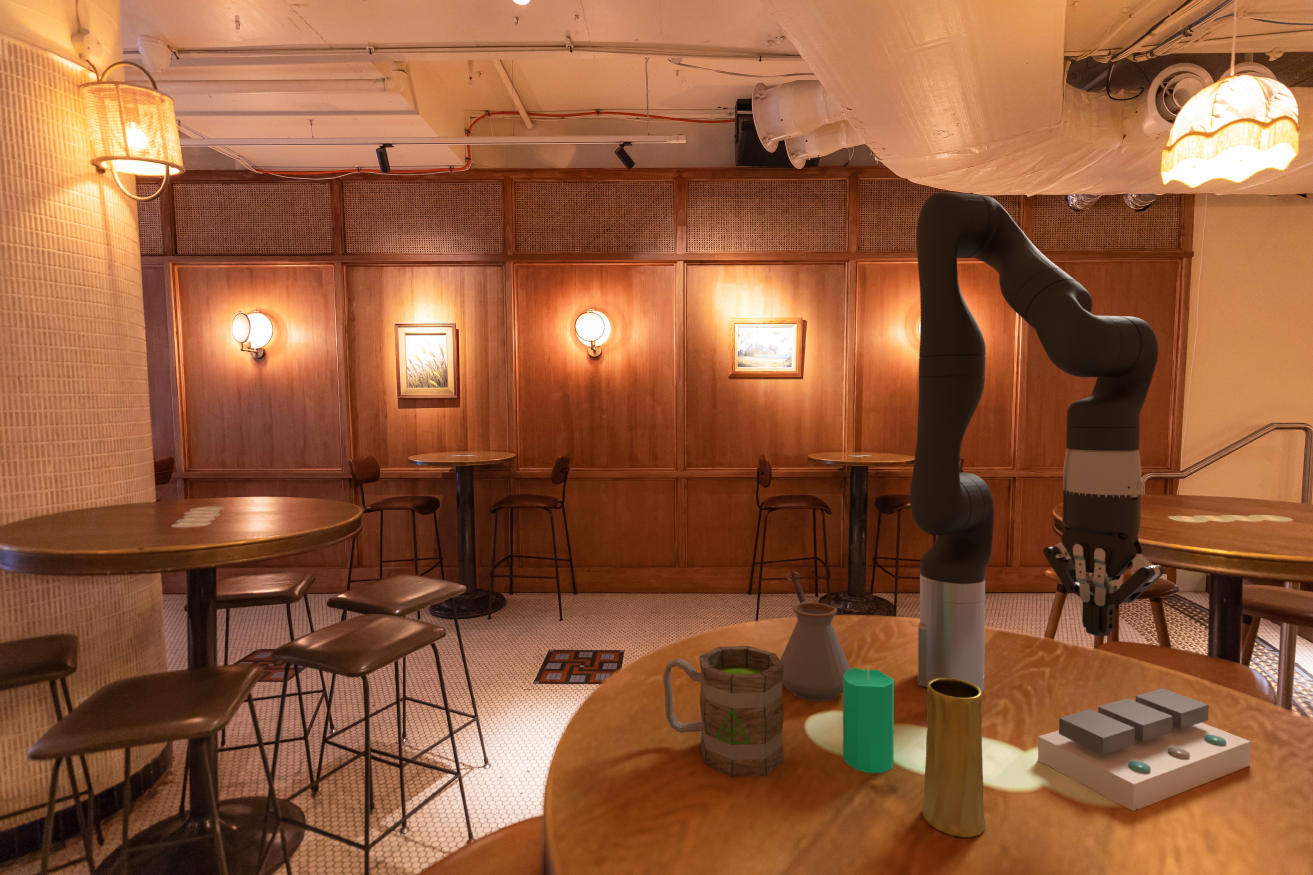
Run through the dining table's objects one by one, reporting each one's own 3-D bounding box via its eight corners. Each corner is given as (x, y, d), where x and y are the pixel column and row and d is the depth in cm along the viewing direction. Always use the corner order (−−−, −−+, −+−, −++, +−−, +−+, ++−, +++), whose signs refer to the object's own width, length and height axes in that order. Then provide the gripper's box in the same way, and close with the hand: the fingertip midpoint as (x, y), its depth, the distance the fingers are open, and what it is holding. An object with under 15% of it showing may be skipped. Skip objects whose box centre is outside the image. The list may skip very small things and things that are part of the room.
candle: (897, 775, 76) (898, 676, 76) (845, 770, 77) (845, 672, 77) (889, 749, 82) (890, 657, 82) (841, 744, 83) (841, 654, 83)
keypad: (1133, 811, 69) (1133, 781, 69) (1038, 759, 79) (1038, 733, 79) (1249, 765, 78) (1250, 738, 77) (1150, 724, 88) (1150, 700, 88)
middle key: (1142, 741, 76) (1143, 725, 76) (1097, 722, 80) (1098, 706, 80) (1172, 732, 78) (1172, 715, 78) (1126, 713, 83) (1127, 698, 82)
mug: (789, 739, 85) (789, 650, 84) (777, 785, 75) (777, 683, 74) (676, 721, 90) (675, 637, 89) (650, 762, 80) (649, 667, 79)
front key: (1102, 755, 73) (1103, 737, 73) (1058, 733, 78) (1059, 717, 78) (1134, 744, 75) (1134, 727, 75) (1089, 724, 80) (1090, 708, 80)
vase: (911, 803, 71) (912, 676, 70) (964, 800, 71) (965, 674, 71) (940, 840, 65) (941, 702, 64) (998, 836, 65) (1000, 699, 65)
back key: (1180, 729, 78) (1181, 713, 78) (1135, 710, 83) (1135, 695, 83) (1208, 720, 81) (1208, 704, 80) (1162, 702, 85) (1162, 688, 85)
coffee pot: (863, 706, 94) (863, 605, 93) (785, 708, 94) (784, 606, 93) (824, 651, 115) (824, 568, 114) (760, 652, 115) (760, 569, 114)
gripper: (1026, 484, 80) (1024, 621, 80) (1141, 497, 67) (1138, 659, 68) (1067, 480, 83) (1065, 613, 83) (1185, 492, 70) (1181, 648, 71)
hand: (1098, 634), depth 76 cm, fingers closed
